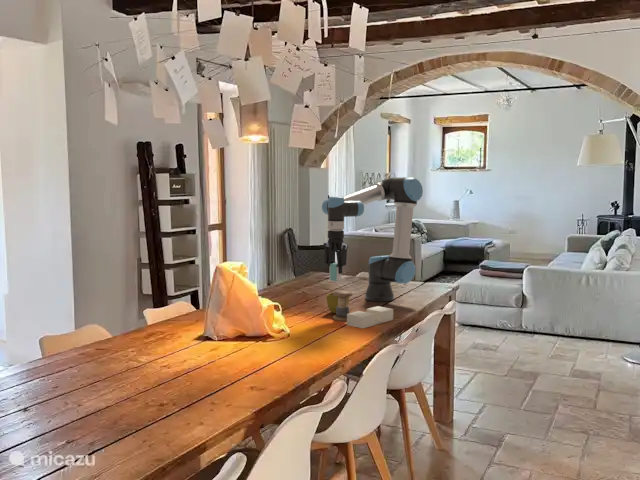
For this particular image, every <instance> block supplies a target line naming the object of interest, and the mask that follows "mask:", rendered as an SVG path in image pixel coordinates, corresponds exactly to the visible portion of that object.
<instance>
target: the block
mask: <svg viewBox="0 0 640 480" xmlns="http://www.w3.org/2000/svg"><path fill="white" fill-rule="evenodd" d="M337 266H338V263H337V262H333V263H331V264H330V272H329V277H330V281H331V282H337V281H336V270H337ZM340 281H342V279H341V280H339V281H338V282H340Z"/></svg>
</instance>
